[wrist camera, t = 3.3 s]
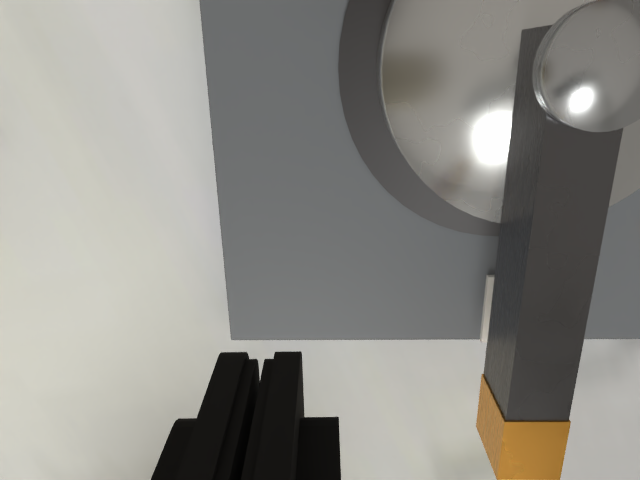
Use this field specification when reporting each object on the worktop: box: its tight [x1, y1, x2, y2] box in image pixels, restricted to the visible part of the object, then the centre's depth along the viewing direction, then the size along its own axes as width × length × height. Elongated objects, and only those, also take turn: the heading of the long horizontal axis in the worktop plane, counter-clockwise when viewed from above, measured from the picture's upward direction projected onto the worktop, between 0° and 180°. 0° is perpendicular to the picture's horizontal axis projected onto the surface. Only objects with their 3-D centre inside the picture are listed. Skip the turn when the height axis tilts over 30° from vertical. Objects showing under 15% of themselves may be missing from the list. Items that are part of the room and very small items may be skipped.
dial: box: [376, 0, 640, 480], centre depth 15 cm, size 18×10×6 cm, turn 1°
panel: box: [200, 0, 640, 342], centre depth 18 cm, size 22×22×2 cm
